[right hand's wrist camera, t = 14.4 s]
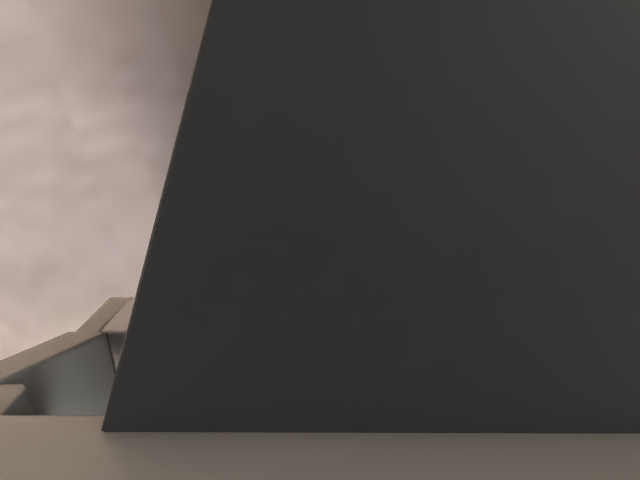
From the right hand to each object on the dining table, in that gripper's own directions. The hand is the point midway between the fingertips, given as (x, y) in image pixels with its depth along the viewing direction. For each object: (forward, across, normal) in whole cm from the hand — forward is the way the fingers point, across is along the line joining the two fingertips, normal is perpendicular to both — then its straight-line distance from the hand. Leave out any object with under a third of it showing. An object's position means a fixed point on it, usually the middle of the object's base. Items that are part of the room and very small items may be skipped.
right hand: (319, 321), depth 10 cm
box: (+4, -3, -7) cm, 9 cm away
